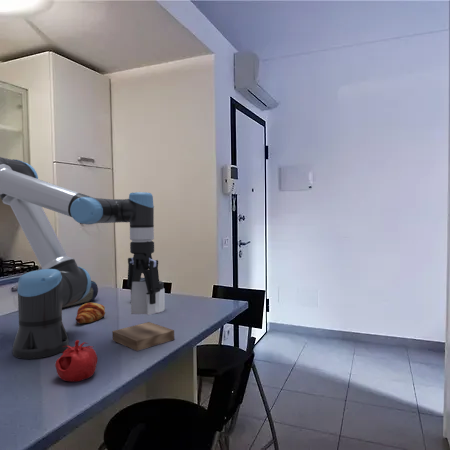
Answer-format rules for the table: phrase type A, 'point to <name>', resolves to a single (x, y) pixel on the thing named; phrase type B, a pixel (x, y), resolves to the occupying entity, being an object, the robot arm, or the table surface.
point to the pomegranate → (76, 363)
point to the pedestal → (143, 335)
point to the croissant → (90, 312)
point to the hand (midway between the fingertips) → (143, 311)
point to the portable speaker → (88, 295)
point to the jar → (160, 299)
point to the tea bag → (139, 298)
